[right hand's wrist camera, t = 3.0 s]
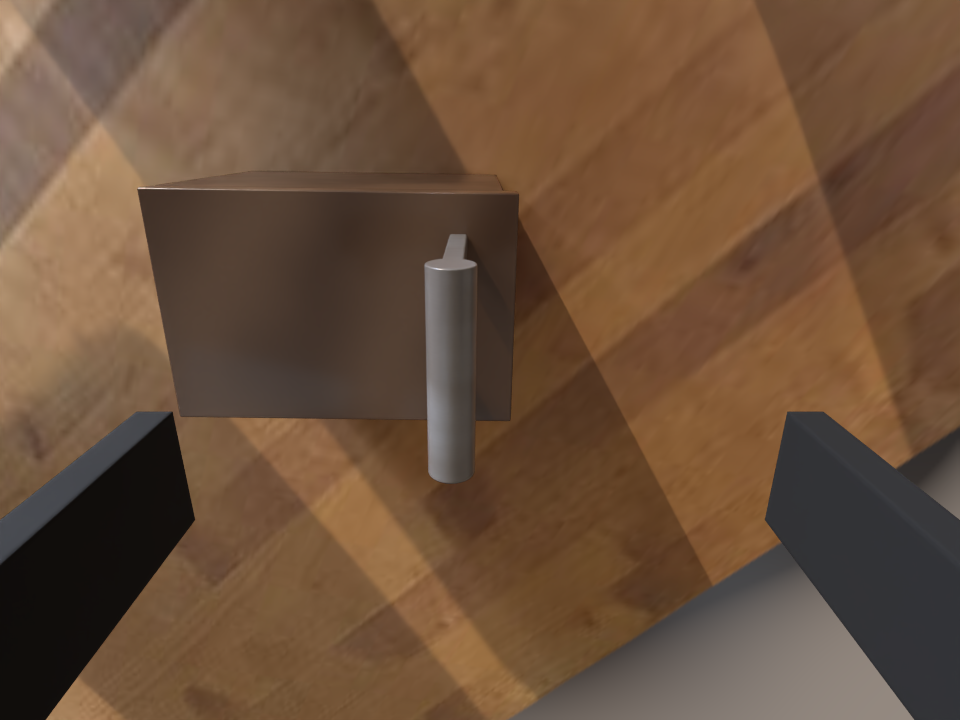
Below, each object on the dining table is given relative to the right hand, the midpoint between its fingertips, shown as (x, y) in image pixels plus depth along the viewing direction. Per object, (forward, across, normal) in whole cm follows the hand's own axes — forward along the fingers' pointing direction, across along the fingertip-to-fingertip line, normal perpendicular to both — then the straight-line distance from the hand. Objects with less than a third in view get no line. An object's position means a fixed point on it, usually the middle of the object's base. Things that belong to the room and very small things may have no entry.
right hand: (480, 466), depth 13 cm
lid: (+13, -6, 0) cm, 14 cm away
